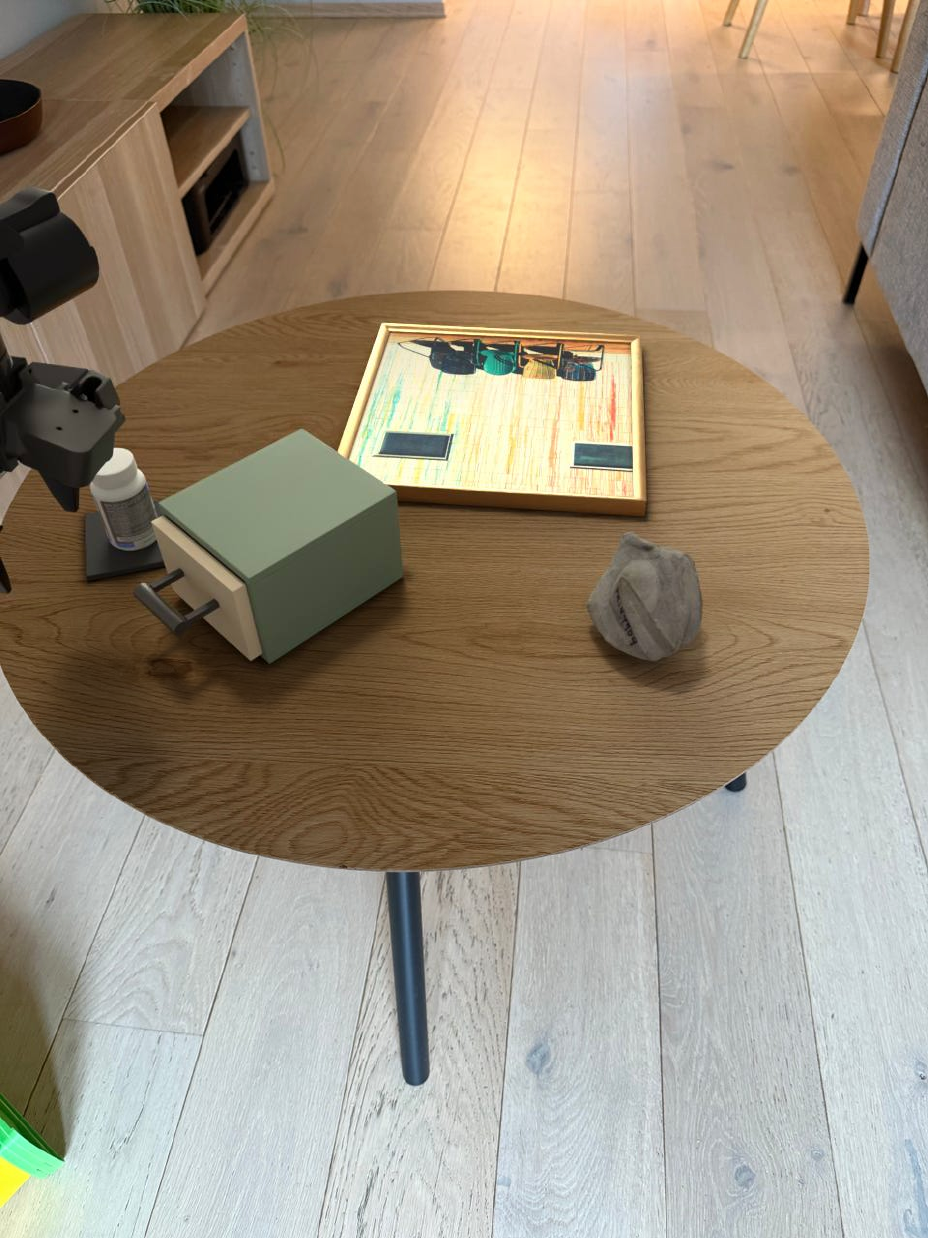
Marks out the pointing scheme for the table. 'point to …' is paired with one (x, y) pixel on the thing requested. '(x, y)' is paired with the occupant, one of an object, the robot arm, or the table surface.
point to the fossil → (647, 599)
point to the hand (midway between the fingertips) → (39, 549)
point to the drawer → (200, 590)
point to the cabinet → (296, 535)
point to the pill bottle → (124, 502)
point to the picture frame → (503, 418)
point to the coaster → (115, 552)
